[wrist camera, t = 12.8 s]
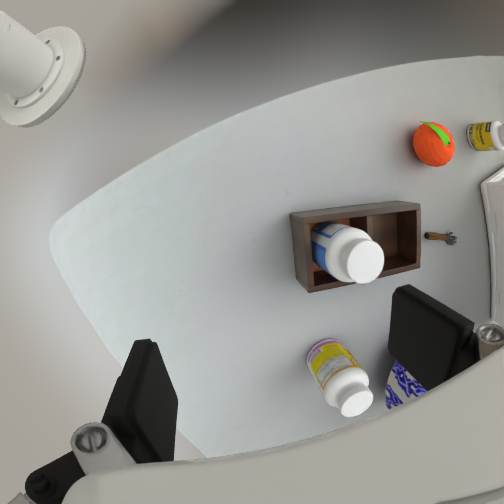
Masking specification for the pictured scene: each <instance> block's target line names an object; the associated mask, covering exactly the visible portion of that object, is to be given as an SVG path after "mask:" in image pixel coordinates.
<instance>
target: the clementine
mask: <svg viewBox="0 0 504 504" xmlns="http://www.w3.org/2000/svg"><path fill="white" fill-rule="evenodd" d="M420 122H421V121H420ZM423 123H425V124H423V125H421V126H419V128H418V129H417V130H416V131H415V134H414V137H413V147H414V150H415V152H416V154H417V156H418V157H419V159H420V160H421V161H422V162H424V163H426V164H427V165H429V166H435V167H438V166H443V165H445V164H446V163H448V162H449V161H450V160H451V158H452V156H453V154H454V141H453V138H452V136H451V134H450V132H449V131H448V130H447V129H446V128H445V127H444V126H442V125H440V124H438V123H434V122H429V123H428V122H423Z"/></svg>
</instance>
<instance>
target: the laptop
mask: <svg viewBox="0 0 504 504" xmlns="http://www.w3.org/2000/svg"><path fill="white" fill-rule="evenodd" d="M480 188H481V193H482V198H483V203H484V209H485V215H486V222H487V230H488V238H489V248H490V261H491V289H492V299H491V318H492V322H493V323H495V322H496V323H497V324H499V325H500V326H502V327H504V167H503V168H501V169H500V170H499V171H497V172H496V173H495V174H493V175H492V176H490V177H489V178H488V179H486V180H485V181H484V182H482V183H481V186H480Z"/></svg>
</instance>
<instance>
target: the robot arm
mask: <svg viewBox="0 0 504 504" xmlns="http://www.w3.org/2000/svg"><path fill="white" fill-rule="evenodd" d="M64 55H65V54H64V49H63V46H62V45H61V44H60V43H59V42H58V41H57V40H55V39H52V38H47V39H42V40H40V39H39V38H37V37H36V36H34V35H33V34H32V33H31V32H30V31H28V30H27V29H26V28H24V27H23V26H22V25H20V24H19V23H18V22H16V21H15V20H14V19H12V18H11V17H10V16H8V15H7V14H6V13H4V12H3V11H1V10H0V91H1V92H4V93H5V95H6V99H7V101H8V103H9V104H10V105H12V106H14V107H16V108H26V107H29V106H31V105H33V104H34V103H36V102H37V101H39V100H40V99H41V98H42V97H43V96H44V95H45V94H46V93H47V92H48V91H49V90H50V88H51V87H52V86H53V84H54V83H55V81H56V80H57V78H58V76H59V74H60V72H61V69H62V67H63V62H64ZM474 324H475V323H474V322H472V321H470V320H469V319H467V318H465V317H464V316H462V315H461V314H459V313H457V312H456V311H454V310H452V309H451V308H449V307H447V306H446V305H444V304H442V303H441V302H439V301H437V300H436V299H434V298H432V297H430V296H429V295H427V294H425V293H424V292H422V291H420V290H418V289H417V288H415V287H413V286H411V285H409V284H408V285H404V286H401V287H398V288H396V290H395V292H394V293H393V296H392V309H391V322H390V332H389V341H388V350H389V353H390V354H391V355H392V356H393V357H394V358H395V359H396V360H397V361H398V362H399V363H400V364H401V365H402V366H403V367H404V368H405V369H406V370H407V371H408V372H409V374H410V375H411V376H412V377H413V378H414V379H415V380H416V381H417V382H418V383H419V384H420V385H421V386H422V387H423V388H424V389H425V390H426V391H427V392H425V393H423V394H422V395H420V396H418V397H416V398H414V399H412V400H409V401H407V402H405V403H403V404H401V405H399V406H397V407H394V408H392V409H390V410H388V411H385V412H383V413H381V414H378V415H376V416H373V417H371V418H368V419H366V420H363V421H361V422H358V423H355V424H353V425H350V426H347V427H344V428H341V429H338V430H335V431H332V432H329V433H326V434H323V435H319V436H316V437H312V438H309V439H305V440H302V441H298V442H294V443H290V444H286V445H282V446H277V447H273V448H268V449H263V450H258V451H252V452H247V453H241V454H234V455H227V456H220V457H213V458H204V459H194V460H181V461H174V447H175V433H176V421H177V410H178V399H177V395H176V392H175V390H174V388H173V385H172V383H171V380H170V377H169V375H168V372H167V370H166V367H165V364H164V362H163V359H162V356H161V353H160V350H159V348H158V345H157V343H156V342H152V341H151V339H143V340H136V341H135V342H134V344H133V346H132V349H131V351H130V353H129V356H128V358H127V361H126V363H125V366H124V368H123V371H122V373H121V376H119V377H118V379H117V381H116V384H115V386H114V389H113V392H112V394H111V397H110V400H109V402H108V405H107V408H106V410H105V413H104V416H103V419H102V421H101V423H97V422H93V423H88V424H85V425H83V426H81V427H80V428H78V429H77V430H76V431H75V432H74V433H73V435H72V438H71V447H72V451H71V452H69V453H67V454H65V455H64V456H62V457H60V458H58V459H56V460H55V461H53V462H51V463H49V464H47V465H45V466H43V467H41V468H39V469H37V470H35V471H34V472H33V473H31V474H30V475H29V476H28V478H27V480H26V482H25V490H26V493H25V494H24V495H23V494H22V493H19V494H18V495H17V496H16V497H15V498H14V499H13V500H12V501H10V502H9V503H8V504H504V329H503V328H502V327H500V326H498V325H495V324H484V325H481V326H480V327H478V328H477V330H476V334H475V333H474V332H473V328H474Z"/></svg>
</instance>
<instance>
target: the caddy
mask: <svg viewBox="0 0 504 504" xmlns="http://www.w3.org/2000/svg"><path fill="white" fill-rule="evenodd" d="M290 221H291V230H292V240H293V250H294V260H295V271H296V279H297V280H298V281H299V283H300V284H301V285H302V286H303V287H304V288H305V290H306V291H307V292H308V293H312V292H317V291H322V290H327V289H332V288H336V287H341V286H346V285H350V284H355V283H356V282H343V281H340V280H338V279H336V278H335V277H333V276H332V275H331V274H329V273H328V272H326V271H325V270H324V269H322V268H321V267H320V266H318V265H317V264H315V263H314V262H313V259H312V247H311V235H310V230H311V229H312V228H313V227H314V226H315V225H317V224H319V223H321V222H326V221H332V222H336V223H339V224H343V225H347V226H350V227H354V228H357V229H360V230H362V231H364V232H365V233H367V234H368V235H369V236H370V238H371V239H372V241H374V242H376V243H377V244H378V245H379V246H380V247H381V249H382V251H383V254H384V265H383V268H382V271H381V272H380V274H379V275H378V277H377V278H381V277H385V276H389V275H393V274H397V273H401V272H405V271H409V270H413V269H417V268H420V258H421V210H420V204H418V203H411V202H404V201H390V202H380V203H370V204H361V205H352V206H343V207H335V208H327V209H319V210H311V211H303V212H295V213H290ZM377 278H376V279H377Z"/></svg>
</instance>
